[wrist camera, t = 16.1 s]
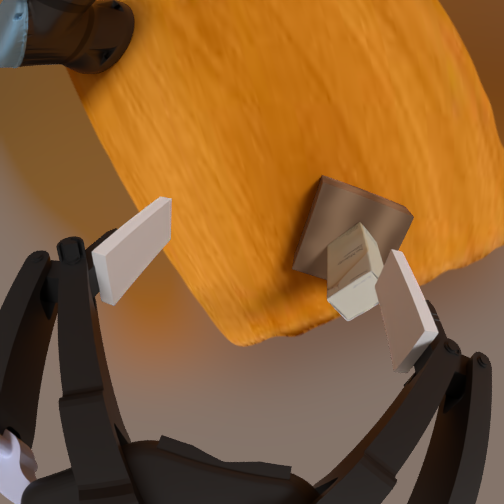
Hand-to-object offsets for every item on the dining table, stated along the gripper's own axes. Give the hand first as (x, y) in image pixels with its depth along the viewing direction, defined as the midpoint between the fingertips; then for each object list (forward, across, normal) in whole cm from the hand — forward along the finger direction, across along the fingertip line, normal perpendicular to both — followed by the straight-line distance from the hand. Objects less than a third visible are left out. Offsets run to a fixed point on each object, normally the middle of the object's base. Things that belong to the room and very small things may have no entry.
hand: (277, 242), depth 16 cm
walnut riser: (+27, +11, -9) cm, 30 cm away
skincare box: (+22, +10, -9) cm, 26 cm away
